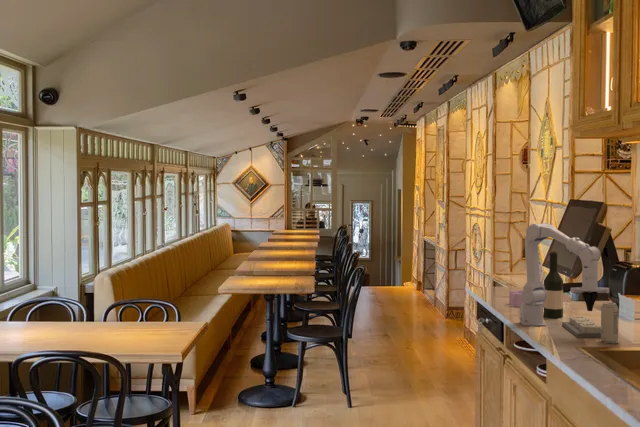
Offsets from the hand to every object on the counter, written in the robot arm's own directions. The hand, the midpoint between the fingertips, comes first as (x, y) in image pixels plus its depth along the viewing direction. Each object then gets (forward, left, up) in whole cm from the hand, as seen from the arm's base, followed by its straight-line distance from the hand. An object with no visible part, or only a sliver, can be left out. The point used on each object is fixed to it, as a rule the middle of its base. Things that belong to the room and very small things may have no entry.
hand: (589, 310), depth 268 cm
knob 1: (0, +13, -8) cm, 16 cm away
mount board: (0, +6, -10) cm, 12 cm away
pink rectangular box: (-9, +63, -10) cm, 64 cm away
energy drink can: (+4, -12, -10) cm, 16 cm away
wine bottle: (-5, +36, -10) cm, 38 cm away
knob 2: (0, +7, -8) cm, 10 cm away
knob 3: (0, -1, -8) cm, 8 cm away
